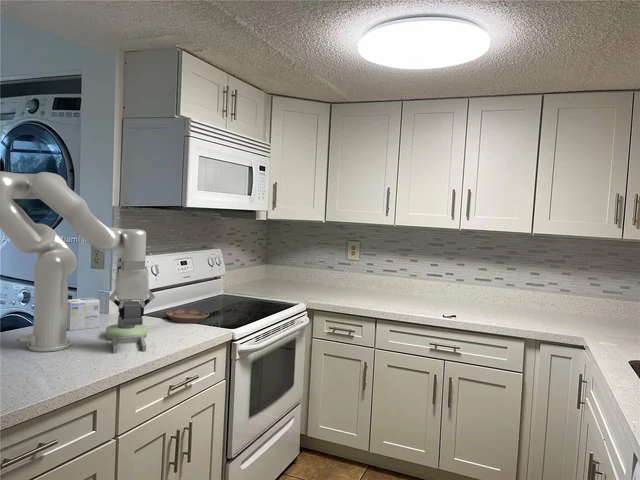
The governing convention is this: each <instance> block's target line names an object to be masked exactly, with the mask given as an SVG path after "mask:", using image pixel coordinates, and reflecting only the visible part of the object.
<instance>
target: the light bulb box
mask: <svg viewBox="0 0 640 480" xmlns="http://www.w3.org/2000/svg"><path fill="white" fill-rule="evenodd" d="M100 300H101V299H98V298H96V297H88V298H87V297H85V298H73V299H71V298H70V299H68V306H67V331H70V332H71V331H79V330H87V329H95V328H99V327H100V306H101V305H100V304H101V301H100Z"/></svg>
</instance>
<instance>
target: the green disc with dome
mask: <svg viewBox="0 0 640 480" xmlns="http://www.w3.org/2000/svg"><path fill="white" fill-rule="evenodd" d="M117 317H118V318H117V323H114V324H110V325H107V326H106V327H105V339H107V340H109V341H112V342H111V343H112V351H113V354H117V353H118V345H119V344H133V343H135V344H136V343H137V344H138V343H139V344H140V346H141V349H142V350H141V351H142V352H147V344H146V343H147V342H146V340H145V338H146V337H147V336H148V333H147V332H148V327H147V325H145V324H142V325H125V326H123V320H122V319H121V317H119V315H118V316H117Z"/></svg>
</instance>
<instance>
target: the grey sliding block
mask: <svg viewBox="0 0 640 480" xmlns="http://www.w3.org/2000/svg"><path fill="white" fill-rule="evenodd" d="M123 306H124V319H123V326H125V325H143V321H144V320H143V319H144V318H143V317H142V318H140V317H141V305H140V300H125V302H124V305H123Z"/></svg>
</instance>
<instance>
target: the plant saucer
mask: <svg viewBox="0 0 640 480" xmlns="http://www.w3.org/2000/svg"><path fill="white" fill-rule="evenodd" d="M166 315H167V317H168V318H169V319H170V320H171V321H173V322H176V323H179V324H181V323H182V324H196V323H201V322H202V323H203V322H204V321H205V320H206V319H207V318H208V317H209V315H210V313H209V312H208V311H206V310H201V309H195V308H180V309H179V308H178V309H171V310H168V311H167V312H166Z"/></svg>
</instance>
